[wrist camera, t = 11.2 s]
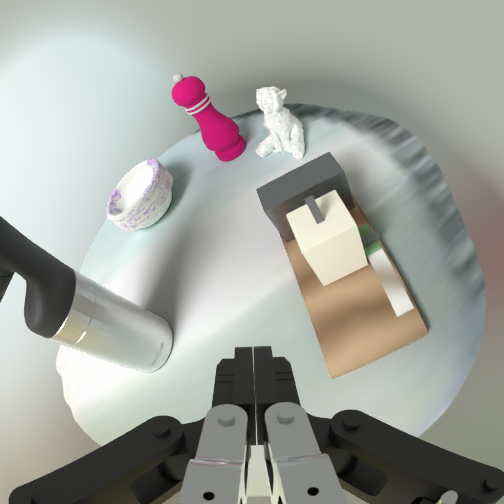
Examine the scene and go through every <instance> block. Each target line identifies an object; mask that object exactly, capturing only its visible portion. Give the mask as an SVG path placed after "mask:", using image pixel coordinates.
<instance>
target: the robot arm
mask: <svg viewBox="0 0 504 504" xmlns="http://www.w3.org/2000/svg"><path fill="white" fill-rule="evenodd" d="M14 272H17V273H18V274H19V275H21V276H22V277H23V278H24V279H25V280H26V284H27V287H26V297H25V306H24V317H25V322H26V325H27V327H28V328H29V329H30V330H31V331H33V332H34V333H36V334H38V335H40V336H43V337H45V338H47V339H50V340H52V341H55V342H57V343H59V344H62V345H64V346H67V347H70V348H72V349H75V350H78V351H80V352H83V353H86V354H88V355H91V356H94V357H97V358H100V359H103V360H106V361H109V362H112V363H115V364H118V365H121V366H125V367H128V368H131V369H135V370H138V371H142V372H145V373H151V372H154V371H156V370H158V369H159V368H160V367H161V366H162V365H163V364H164V363H165V362H166V360H167V358H168V356H169V354H170V351H171V348H172V331H171V328H170V325H169V324H168V322H167V321H166V320H165V319H163V318H162V317H160V316H158V315H156V314H154V313H152V312H150V311H148V310H146V309H144V308H142V307H140V306H138V305H136V304H134V303H132V302H130V301H128V300H127V299H125V298H123V297H121V296H119V295H117V294H115V293H114V292H112V291H110V290H108V289H106V288H105V287H103V286H101V285H99V284H98V283H96V282H94V281H92V280H91V279H89V278H87V277H85V276H84V275H82V274H80V273H78V272H77V271H75V270H73V269H72V268H70V267H69V266H67V265H65V264H64V263H62V262H61V261H59V260H58V259H56V258H55V257H54V256H52V255H51V254H49V253H48V252H46V251H45V250H43V249H42V248H40V247H39V246H38V245H36V244H34V243H33V242H32V241H31V240H29V239H28V238H27V237H25V236H24V235H23V234H21V233H20V232H19V231H18V230H17V229H15V228H14V227H13V226H12V225H10V224H9V223H8V222H7V221H6V220H4V219H3V218H2V217H1V216H0V302H1V300H2V298H3V296H4V294H5V291H6V289H7V287H8V285H9V283H10V281H11V279H12V277H13V275H14ZM254 386H255V390H254ZM255 404H256V418H255ZM256 422H257V440H258V445H264V464H265V469H266V475H267V480H268V485H269V491H270V496H271V503H272V504H348V503H347V501H346V498H345V495H344V493H343V490H342V488H343V489H345V490H346V491H348V492H350V493H351V494H353V495H355V496H357V497H358V498H360V499H362V500H364V501H365V502H367V503H369V504H495V503H496V502H497V501H498V500H499V499H500V498H501V497H502V496H503V495H504V472H503V471H501V470H500V469H497V468H495V467H492V466H488V465H485V464H482V463H479V462H477V461H474V460H471V459H468V458H466V457H463V456H460V455H458V454H455V453H453V452H450V451H447V450H445V449H442V448H440V447H438V446H435V445H433V444H430V443H428V442H425V441H423V440H421V439H419V438H416V437H414V436H412V435H410V434H407V433H405V432H403V431H401V430H399V429H396V428H394V427H392V426H390V425H388V424H386V423H384V422H382V421H380V420H377V419H375V418H373V417H371V416H369V415H367V414H365V413H363V412H361V411H358V410H343V411H340V412H338V413H337V414H335V415H334V416H333V418H332V419H328V418H320V417H315V416H312V415H310V414H308V413H307V412H305V410H304V409H303V408H302V407H301V405H300V401H299V397H298V393H297V389H296V385H295V380H294V376H293V373H292V368H291V364H290V363H289V362H288V361H287V360H286V359H285V357H273V356H272V350H271V346H256V347H254V372H253V353H252V347H235V359H222V360H221V361H220V363H219V364H218V365H217V368H216V376H215V384H214V393H213V401H212V408H211V409H210V410H209V411H208V412H207V414H206V417H205V418H203V419H201V420H199V421H196V422H192V423H187V424H181V423H180V422H179V421H178V420H177V419H175V418H173V417H170V416H156V417H153V418H151V419H149V420H147V421H146V422H144V423H142V424H141V425H139V426H137V427H136V428H134V429H132V430H130V431H129V432H127V433H125V434H124V435H122V436H120V437H118V438H117V439H115V440H113V441H111V442H109V443H108V444H106V445H104V446H102V447H100V448H99V449H97V450H95V451H93V452H91V453H89V454H87V455H85V456H84V457H82V458H80V459H78V460H76V461H74V462H72V463H70V464H68V465H66V466H64V467H62V468H60V469H57V470H55V471H53V472H51V473H49V474H47V475H45V476H42V477H40V478H38V479H36V480H33V481H31V482H29V483H27V484H24V485H22V486H19V487H17V488H16V489H15V490H13V491H12V493H11V494H10V497H9V504H162V503H163V502H165V501H166V500H167V499H169V498H170V497H172V496H173V495H174V494H176V493H177V492H178V491H180V490H181V492H180V496H179V500H178V504H247V490H248V477H249V464H250V461H249V460H250V457H251V445H256Z"/></svg>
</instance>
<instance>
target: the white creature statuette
mask: <svg viewBox="0 0 504 504" xmlns="http://www.w3.org/2000/svg"><path fill="white" fill-rule="evenodd" d="M286 94H287V92H286V89H284V90H282V91H281V90H279V89H278V88H276V87H273V86H272V87H270V88H269V87H263V88H261V89H257V94H256V95H257V96H256V98H257V102H256V103H257V104H258V105H259V107H260V109H261V110H262V111H264V118H265V119H264V126H265V127H266V128H267V129H269V132H270V134H269V135H268V136H267V137H266V138H265V139H264V140H262V141H261V143H260V144H259V146H258V147H257V149H256V150H255V151H256V153H257V154H258V155H259V156H260V157H262V158H264V157H265V156H267V155H268V154H270V153H272V152H279V151H280V152H283V150H285V151H286V152H288V153H290V152H291V153H292V155H293V157H294V158H295V159H297V160H299V159H302V157H303V155H304V152H305V150H304V149H305V145H304V144H305V143H304V135H303V134H304V133H303V131H304V130H303V128H302V126H303V125H302V123H301V122H300V120H299V119H298V118H296V117H295V116H294V115H292V114H291V113H290V110H288V109H286V108H285V107H283V106H282V105H284V98H285V96H286Z"/></svg>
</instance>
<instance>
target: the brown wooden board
mask: <svg viewBox="0 0 504 504" xmlns="http://www.w3.org/2000/svg"><path fill="white" fill-rule="evenodd" d="M352 198H353V196H352ZM353 201H354V204H355V208H353V209H352V210H350V211H349V213H350V215H351V216H352V218H353V220H354V221H355V223H356V225H357V228H358V231H359V234H360V238H361V239H362V238H364V237H365V236H367V235H369V234H371V233H373V232H375V231H374V229H373V228H372V226H371V225H370V223H369V221H368V220H367V218H366V217H365V215H364V213H363V212H362V210H361V209H360V207H359V206H358V204H357V202H356V201H355V199H354V198H353ZM279 233H280V232H279ZM280 236H281V238H282V241H283V244H284V246H285V249H286V252H287V254H288V257H289V260H290V262H291V265H292V268H293V271H294V273H295V276H296V279H297V282H298V284H299V287H300V290H301V293H302V295H303V298H304V301H305V304H306V307H307V309H308V312H309V315H310V318H311V321H312V324H313V326H314V329H315V332H316V335H317V338H318V341H319V344H320V347H321V350H322V353H323V356H324V359H325V362H326V365H327V368H328V371H329V374H330V377H331V378H336V377H338V376H341V375H343V374H346V373H348V372H351V371H353V370H355V369H358V368H360V367H362V366H364V365H367V364H369V363H371V362H373V361H376V360H378V359H380V358H382V357H384V356H386V355H388V354H390V353H392V352H395V351H397V350H399V349H401V348H403V347H404V346H406V345H408V344H410V343H412V342H414V341H416V340H418V339H420V338H422V337H423V336H425V335H427V333H428V330H427V328H426V326H425V324H424V322H423V320H422V318H421V316H420V314H419V311H418V309H417V307H416V305H415V303H414V301H413V299H412V297H411V295H410V294H409V292H408V290H407V288H406V286H405V284H404V282H403V280H402V278H401V276H400V275H399V273H398V271H397V269H396V267H395V265H394V264H393V262H392V260H391V258H390V257H389V255H388V253H387V251H386V250H385V248H384V246H383V244H382V243H381V241H380V239H377V240H375V241H373V242H372V243H370V244H368V245H366V246H364V247H363V248H364V252H365V255H366V259H367V263H368V265H367V266H365V267H363V268H361V269H359V270H357V271H355V272H353V273H351V274H349V275H347V276H344V277H342V278H340V279H338V280H336V281H334V282H332V283H330V284H328V285H326V286H323V284H322V283H321V281H320V280H319V278H318V277H317V275H316V274H315V272H314V271H313V269H312V268H311V266H310V265H309V263H308V261H307V260H306V258H305V257H304V255H303V254H302V252H301V250H300V247H299V245H298V243H297V240H296V239H294V240H292V241H290V242H288V243H287V242H286V241H285V239H284V238H283V237H282V235H281V234H280Z"/></svg>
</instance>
